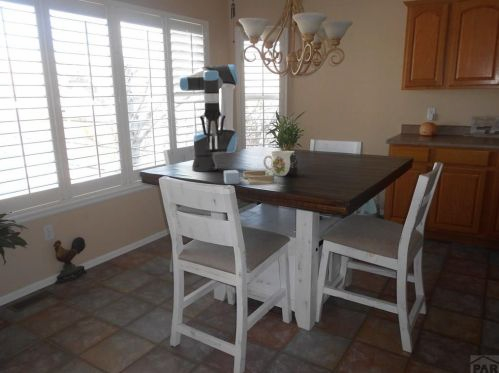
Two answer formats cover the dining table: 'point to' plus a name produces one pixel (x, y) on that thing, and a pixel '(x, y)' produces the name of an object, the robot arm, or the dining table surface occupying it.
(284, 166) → the pitcher
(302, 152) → the dining table surface
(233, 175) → the keeper
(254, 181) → the dock
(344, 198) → the dining table surface
